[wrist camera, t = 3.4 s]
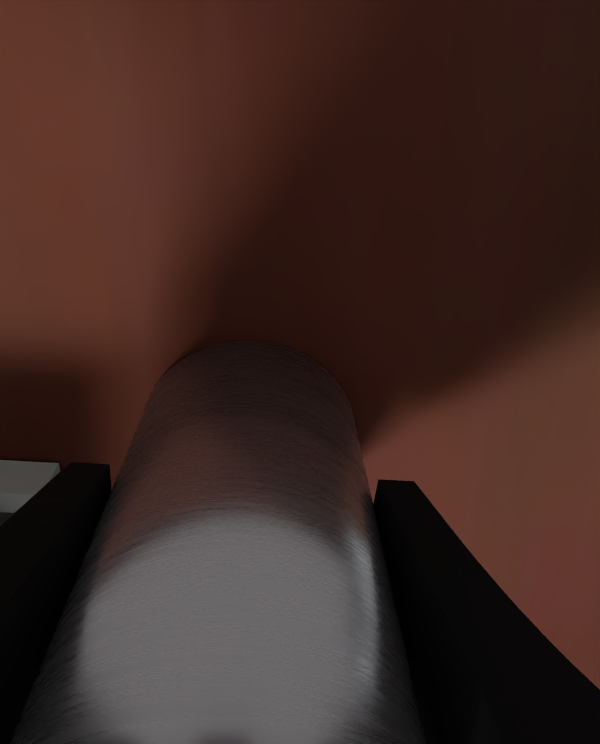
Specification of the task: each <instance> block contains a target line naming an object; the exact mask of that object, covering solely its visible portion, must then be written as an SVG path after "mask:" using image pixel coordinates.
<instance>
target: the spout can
mask: <svg viewBox="0 0 600 744" xmlns="http://www.w3.org/2000/svg"><path fill="white" fill-rule="evenodd" d="M10 744H426V742H425V737H424V733H423V728H422V724H421V719H420V715H419V710H418V706H417V701H416V697H415V692H414V688H413V683H412V679H411V674H410V669H409V665H408V660H407V656H406V651H405V647H404V642H403V638H402V633H401V629H400V624H399V620H398V615H397V611H396V606H395V602H394V597H393V593H392V588H391V584H390V579H389V575H388V570H387V565H386V561H385V556H384V552H383V547H382V543H381V538H380V534H379V529H378V525H377V520H376V516H375V511H374V507H373V502H372V498H371V493H370V489H369V484H368V480H367V475H366V471H365V466H364V461H363V457H362V452H361V448H360V443H359V439H358V434H357V430H356V425H355V421H354V416H353V412H352V407H351V405H350V402H349V400H348V397H347V395H346V393H345V392H344V390H343V388H342V387H341V385H340V384H339V383H338V381H337V380H336V379H335V378H334V376H333V375H332V374H331V373H330V372H329V371H328V370H327V369H326V368H324V367H323V366H322V365H321V364H319V363H318V362H317V361H315V360H314V359H312V358H311V357H309V356H307V355H305V354H303V353H301V352H300V351H297V350H295V349H292V348H289V347H287V346H283V345H280V344H276V343H272V342H265V341H257V340H238V341H229V342H223V343H219V344H214V345H211V346H208V347H205V348H202V349H200V350H197V351H195V352H193V353H191V354H190V355H188V356H186V357H184V358H183V359H181V360H180V361H179V362H177V363H176V364H174V365H173V366H172V367H171V368H170V369H169V370H168V371H167V372H166V373H165V374H164V375H163V376H162V377H161V379H160V380H159V381H158V382H157V384H156V386H155V387H154V389H153V391H152V393H151V394H150V397H149V399H148V402H147V404H146V407H145V409H144V412H143V414H142V417H141V419H140V422H139V424H138V427H137V429H136V431H135V434H134V436H133V439H132V441H131V444H130V446H129V449H128V451H127V454H126V456H125V459H124V461H123V464H122V466H121V469H120V471H119V474H118V476H117V479H116V481H115V484H114V486H113V489H112V491H111V493H110V496H109V498H108V501H107V503H106V506H105V508H104V511H103V513H102V516H101V518H100V521H99V523H98V526H97V528H96V531H95V533H94V536H93V538H92V541H91V543H90V546H89V548H88V551H87V553H86V555H85V558H84V560H83V563H82V565H81V568H80V570H79V573H78V575H77V578H76V580H75V583H74V585H73V588H72V590H71V593H70V595H69V598H68V600H67V603H66V605H65V608H64V610H63V613H62V615H61V617H60V620H59V622H58V625H57V627H56V630H55V632H54V635H53V637H52V640H51V642H50V645H49V647H48V650H47V652H46V655H45V657H44V660H43V662H42V665H41V667H40V670H39V672H38V675H37V677H36V679H35V682H34V684H33V687H32V689H31V692H30V694H29V697H28V699H27V702H26V704H25V707H24V709H23V712H22V714H21V717H20V719H19V722H18V724H17V727H16V729H15V732H14V734H13V737H12V739H11V741H10Z"/></svg>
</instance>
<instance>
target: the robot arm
mask: <svg viewBox="0 0 600 744" xmlns="http://www.w3.org/2000/svg"><path fill="white" fill-rule="evenodd" d="M110 493H111V479H110V467H109V464H92V463H74V462H71V463H70V464H69V465H67V466H66V467H65V468H64V469H63V470H61V471H60V472H59V473H58V474H57V475H56V476H55V477H53V478H52V479H51V480H50V481H49V482H48V483H47V484H46V485H45V486H44V487H42V488H41V489H40V490H39V491H38V492H37V493H36V494H35V495H34V496H33V497H31V498H30V499H29V500H28V501H27V502H26V503H25V504H24V505H23V506H21V507H20V508H19V509H18V510H17V511H16V512H15V513H14V514H13V515H11V516H10V517H9V518H8V519H7V520H6V521H5V522H4V523H2V524H1V525H0V744H10V741H11V739H12V737H13V734H14V732H15V729H16V727H17V724H18V722H19V719H20V717H21V714H22V712H23V709H24V707H25V704H26V702H27V699H28V697H29V694H30V692H31V689H32V687H33V684H34V682H35V679H36V677H37V675H38V672H39V670H40V667H41V665H42V662H43V660H44V657H45V655H46V652H47V650H48V647H49V645H50V642H51V640H52V637H53V635H54V632H55V630H56V627H57V625H58V622H59V620H60V617H61V615H62V613H63V610H64V608H65V605H66V603H67V600H68V598H69V595H70V593H71V590H72V588H73V585H74V583H75V580H76V578H77V575H78V573H79V570H80V568H81V565H82V563H83V560H84V558H85V555H86V553H87V551H88V548H89V546H90V543H91V541H92V538H93V536H94V533H95V531H96V528H97V526H98V523H99V521H100V518H101V516H102V513H103V511H104V508H105V506H106V503H107V501H108V498H109V496H110ZM373 507H374V511H375V516H376V520H377V525H378V529H379V534H380V538H381V543H382V547H383V552H384V556H385V561H386V565H387V570H388V575H389V579H390V584H391V588H392V593H393V597H394V602H395V606H396V611H397V615H398V620H399V624H400V629H401V633H402V638H403V642H404V647H405V651H406V656H407V660H408V665H409V669H410V674H411V679H412V683H413V688H414V692H415V697H416V701H417V706H418V710H419V715H420V719H421V724H422V728H423V733H424V737H425V742H426V744H600V690H599V689H598V688H597V687H596V686H595V685H594V684H593V683H592V682H591V681H590V680H589V679H588V678H587V677H586V676H584V675H583V674H582V673H581V672H580V671H579V670H578V669H577V668H576V667H575V666H574V665H573V664H572V663H571V662H570V661H569V660H568V659H567V658H566V657H565V656H564V655H563V654H562V653H561V652H560V651H559V650H558V649H557V648H556V647H555V646H554V645H553V644H552V643H551V642H550V641H549V640H548V639H547V638H546V637H545V636H544V635H543V634H542V633H541V632H540V631H539V629H538V628H537V627H536V626H535V625H534V624H533V623H532V622H531V621H530V620H529V619H528V618H527V617H526V616H525V615H524V614H523V612H522V611H521V610H520V609H519V608H518V607H517V606H516V605H515V604H514V603H513V601H512V600H511V599H510V598H509V597H508V596H507V595H506V594H505V593H504V591H503V590H502V589H501V588H500V587H499V586H498V584H497V583H496V582H495V581H494V580H493V579H492V577H491V576H490V575H489V574H488V573H487V571H486V570H485V569H484V568H483V567H482V566H481V564H480V563H479V562H478V561H477V560H476V559H475V557H474V556H473V555H472V554H471V552H470V551H469V550H468V549H467V548H466V546H465V545H464V544H463V543H462V541H461V540H460V539H459V538H458V536H457V535H456V534H455V533H454V531H453V530H452V529H451V528H450V526H449V525H448V524H447V523H446V521H445V520H444V519H443V517H442V516H441V515H440V514H439V512H438V511H437V510H436V509H435V507H434V506H433V505H432V503H431V502H430V501H429V500H428V498H427V497H426V496H425V495H424V493H423V492H422V491H421V490H420V488H419V487H418V486H417V485H416V483H415V482H414V481H397V480H378V485H377V489H376V494H375V499H374V504H373Z"/></svg>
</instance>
